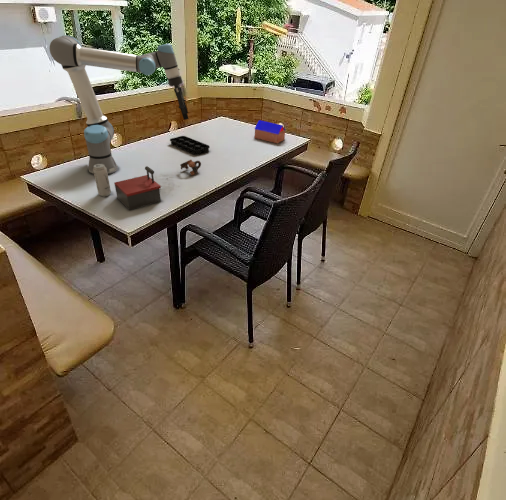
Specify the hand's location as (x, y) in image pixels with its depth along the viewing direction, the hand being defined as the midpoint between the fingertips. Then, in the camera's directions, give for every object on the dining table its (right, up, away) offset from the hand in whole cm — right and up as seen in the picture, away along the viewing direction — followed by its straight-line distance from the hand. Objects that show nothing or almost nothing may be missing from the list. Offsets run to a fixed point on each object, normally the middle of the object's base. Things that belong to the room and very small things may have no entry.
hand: (186, 116), depth 201 cm
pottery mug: (+3, -30, -1) cm, 30 cm away
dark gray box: (-18, -52, -29) cm, 62 cm away
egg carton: (-4, -8, +34) cm, 35 cm away
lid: (-17, -46, -33) cm, 59 cm away
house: (+51, +6, +59) cm, 78 cm away
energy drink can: (-36, -49, -26) cm, 66 cm away
